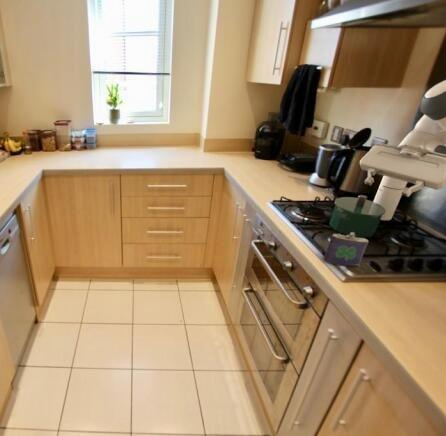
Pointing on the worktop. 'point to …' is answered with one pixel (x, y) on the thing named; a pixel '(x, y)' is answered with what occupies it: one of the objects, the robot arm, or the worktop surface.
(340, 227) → the pot
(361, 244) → the flask
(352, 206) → the pot lid
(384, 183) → the cylindrical container
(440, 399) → the worktop surface
